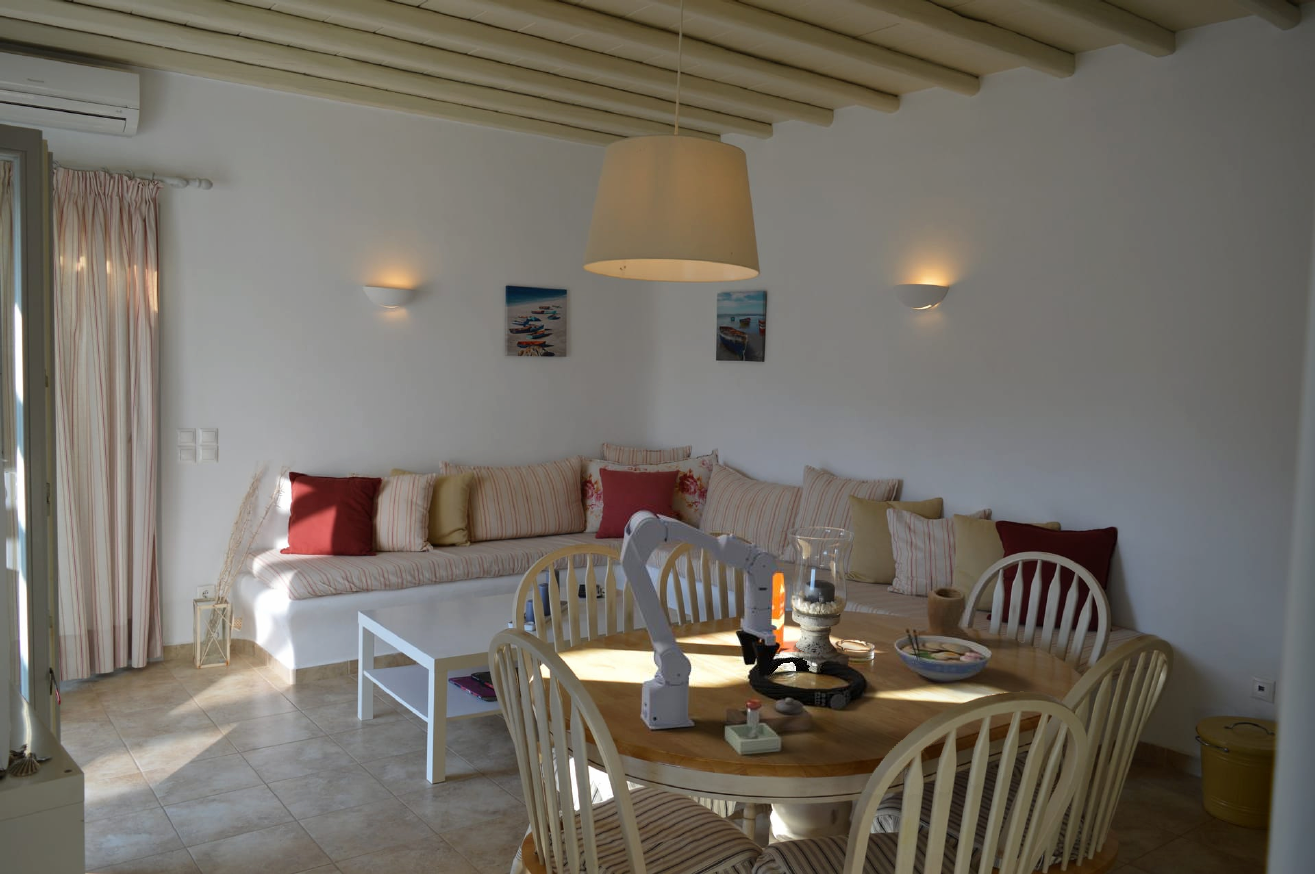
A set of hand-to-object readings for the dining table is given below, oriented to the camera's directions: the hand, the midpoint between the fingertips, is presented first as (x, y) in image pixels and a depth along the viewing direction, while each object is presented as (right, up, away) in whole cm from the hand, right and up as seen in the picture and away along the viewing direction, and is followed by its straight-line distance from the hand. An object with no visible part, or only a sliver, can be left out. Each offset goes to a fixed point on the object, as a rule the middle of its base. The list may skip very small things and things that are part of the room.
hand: (756, 669), depth 207 cm
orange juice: (+8, -7, +55) cm, 56 cm away
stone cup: (+58, -8, +64) cm, 87 cm away
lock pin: (-2, -11, -14) cm, 17 cm away
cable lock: (+14, -10, +22) cm, 28 cm away
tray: (-2, -11, -14) cm, 18 cm away
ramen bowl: (+48, -10, +32) cm, 58 cm away
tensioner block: (+2, -11, -4) cm, 12 cm away
